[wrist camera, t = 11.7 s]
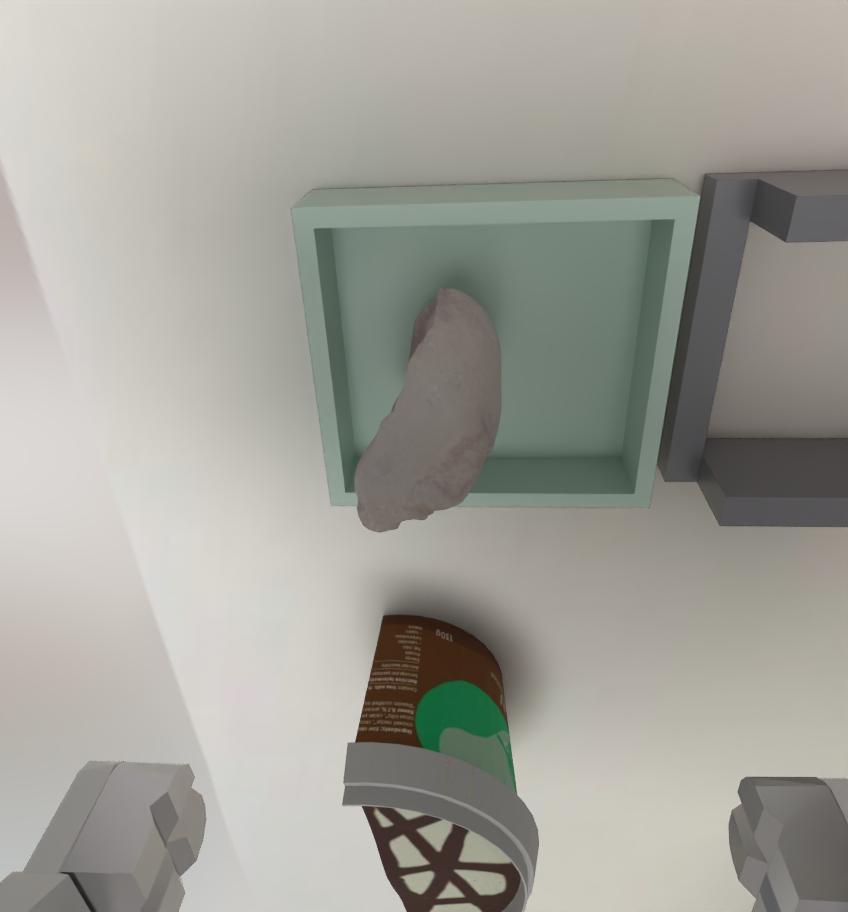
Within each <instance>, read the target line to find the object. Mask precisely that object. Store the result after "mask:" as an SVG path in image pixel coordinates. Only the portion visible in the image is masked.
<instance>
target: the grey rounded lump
mask: <svg viewBox="0 0 848 912" xmlns="http://www.w3.org/2000/svg"><path fill="white" fill-rule="evenodd" d="M501 407H502V394H501V349H500V343H499V339H498V336H497V333H496V331H495V328H494V326H493V323H492V321H491V319H490V318H489V316H488V314H487V313H486V311H485V310H484V308H483V307H482V306H481V305H480V304H479V303H478V302H476V301H475V300H474V299H473V298H472V297H470V296H469V295H467V294H466V293H463V292H461V291H459V290H455V289H452V288H439V290H438V296H437V299H436V300H433V301H431V302H429V305H428V307H427V308H425V309H424V310H422V311H421V312H420V313H419V314H418V316H417V317H416V319H415V322H414V328H413V335H412V341H411V349H410V356H409V363H408V365H407V373H406V378H405V382H404V386H403V388H402V390H401V392H400V394H399V396H398V397H397V399H396V401H395V403H394V405H393V407H392V410H391V413H390V414H389V415H387V416H386V417H385V418H384V419H383V420H381V423H380V427H379V430H378V433H377V434H376V436H375V437H374V438H373V440H372V441H371V443H370V444H369V446H368V447H367V448H366V450H365V451H364V453H363V455H362V457H361V459H360V460H359V462H358V465H357V467H356V472H355V479H354V484H355V492H356V494H357V497H358V505H357V511H358V515H359V518H360V520H361V521H362V523H363V525H364V526H365V527H366V528H368V529H369V530H372V531H376V532H384V531H387V530H394V529H397V528H398V526H399V525H400V523H401V521H404V520H411V519H417V520H424V519H426V518H427V516H428V515H430V514H432V513H433V512H434V510H443V509H448V508H451V507H454V506H456V505H459V504H460V503H461V502H463V500H464V499H465V498H466V497H467V496H468V494H469V492H470V490H471V488H472V486H473V484H474V482H475V481H476V479H477V478H478V476H479V474H480V472H481V469H482V466H483V464H484V462H485V460H486V454H488V453H490V452H492V449H493V447H494V443H495V439H496V436H497V432H498V428H499V423H500V417H501Z"/></svg>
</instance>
